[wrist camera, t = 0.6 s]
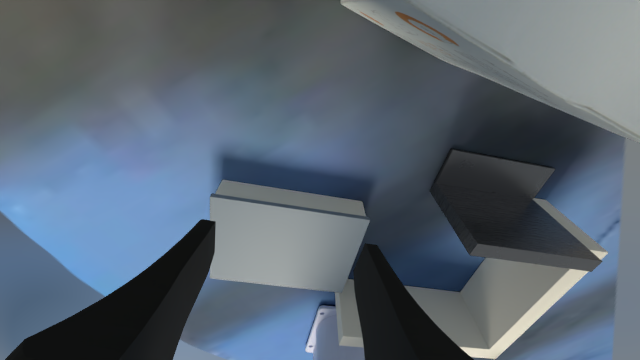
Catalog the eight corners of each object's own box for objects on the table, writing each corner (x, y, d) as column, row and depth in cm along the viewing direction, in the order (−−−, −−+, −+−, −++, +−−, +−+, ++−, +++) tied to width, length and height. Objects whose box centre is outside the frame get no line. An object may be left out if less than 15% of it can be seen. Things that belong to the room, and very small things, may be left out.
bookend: (523, 206, 24) (591, 271, 18) (429, 191, 23) (469, 255, 17) (552, 167, 22) (639, 226, 16) (451, 148, 21) (504, 204, 15)
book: (339, 267, 29) (341, 293, 26) (219, 252, 27) (210, 278, 25) (363, 197, 24) (370, 220, 22) (221, 175, 23) (210, 196, 20)
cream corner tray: (466, 301, 32) (495, 358, 26) (334, 286, 30) (338, 345, 25) (545, 200, 24) (608, 252, 19) (376, 171, 22) (395, 221, 17)
